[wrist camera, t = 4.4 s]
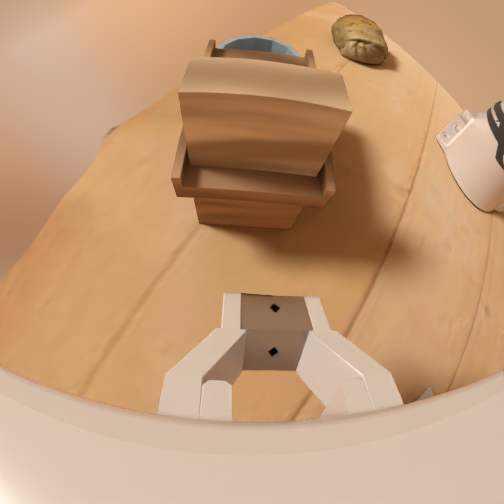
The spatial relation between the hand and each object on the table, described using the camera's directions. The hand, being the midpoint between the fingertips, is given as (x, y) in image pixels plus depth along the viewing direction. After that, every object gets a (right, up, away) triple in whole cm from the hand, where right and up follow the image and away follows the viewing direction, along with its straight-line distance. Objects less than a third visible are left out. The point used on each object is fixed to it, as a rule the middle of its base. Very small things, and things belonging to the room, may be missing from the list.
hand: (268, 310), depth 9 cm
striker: (0, +9, +10) cm, 14 cm away
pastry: (+20, +43, +32) cm, 57 cm away
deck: (-1, +12, +21) cm, 24 cm away
